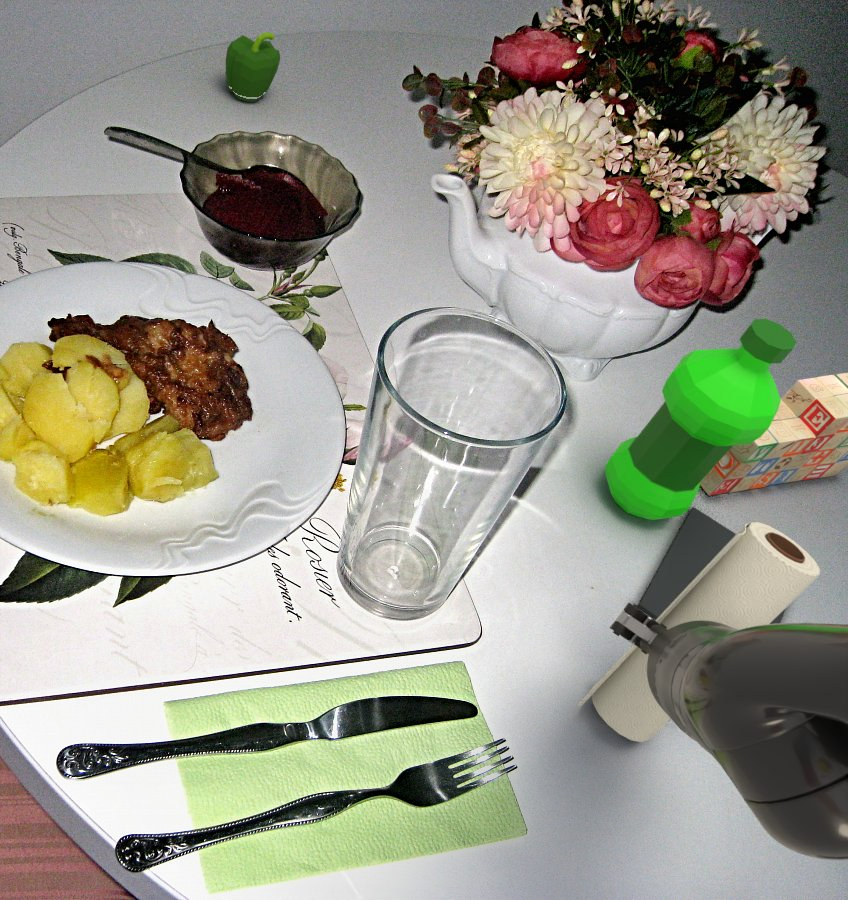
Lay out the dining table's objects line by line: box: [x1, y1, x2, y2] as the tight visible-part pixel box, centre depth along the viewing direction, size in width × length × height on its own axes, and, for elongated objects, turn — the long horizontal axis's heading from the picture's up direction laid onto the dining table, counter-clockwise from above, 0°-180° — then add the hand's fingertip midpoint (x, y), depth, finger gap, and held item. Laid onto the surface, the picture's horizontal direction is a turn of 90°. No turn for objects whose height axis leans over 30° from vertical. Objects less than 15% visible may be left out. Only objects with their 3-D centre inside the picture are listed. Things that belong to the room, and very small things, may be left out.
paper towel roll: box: [576, 521, 821, 743], centre depth 75 cm, size 7×6×21 cm
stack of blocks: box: [700, 372, 848, 497], centre depth 104 cm, size 21×6×12 cm, turn 108°
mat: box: [637, 506, 787, 624], centre depth 94 cm, size 13×18×1 cm
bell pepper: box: [225, 31, 281, 103], centre depth 140 cm, size 8×8×10 cm
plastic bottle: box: [604, 318, 798, 521], centre depth 92 cm, size 10×10×25 cm
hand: (673, 652), depth 75 cm, fingers closed
